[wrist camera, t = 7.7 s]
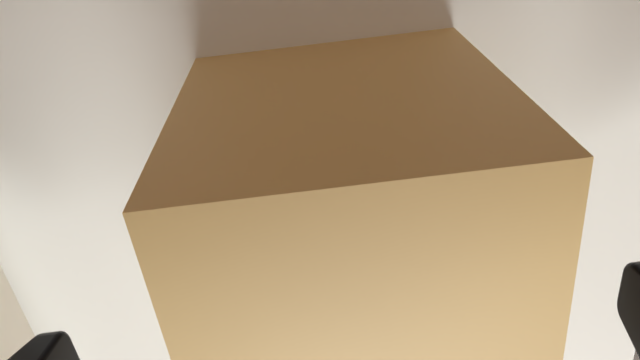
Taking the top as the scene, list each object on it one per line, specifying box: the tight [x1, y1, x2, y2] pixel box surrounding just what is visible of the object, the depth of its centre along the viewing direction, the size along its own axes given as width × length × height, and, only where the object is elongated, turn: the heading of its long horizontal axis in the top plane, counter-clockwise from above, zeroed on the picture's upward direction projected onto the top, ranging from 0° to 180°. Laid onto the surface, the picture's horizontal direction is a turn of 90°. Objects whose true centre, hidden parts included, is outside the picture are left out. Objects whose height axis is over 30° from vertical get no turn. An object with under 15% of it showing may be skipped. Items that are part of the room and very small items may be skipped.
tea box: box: [122, 27, 594, 360], centre depth 9 cm, size 5×8×5 cm, turn 6°
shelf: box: [0, 0, 640, 360], centre depth 11 cm, size 23×15×3 cm, turn 6°
